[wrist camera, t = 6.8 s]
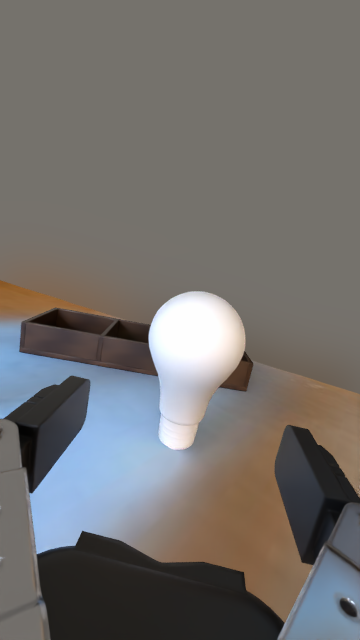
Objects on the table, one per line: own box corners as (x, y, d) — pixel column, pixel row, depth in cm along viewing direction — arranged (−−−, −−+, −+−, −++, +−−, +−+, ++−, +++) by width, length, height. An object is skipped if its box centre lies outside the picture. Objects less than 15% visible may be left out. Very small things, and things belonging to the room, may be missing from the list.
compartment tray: (19, 351, 30) (21, 321, 30) (53, 331, 39) (55, 307, 38) (246, 391, 32) (253, 363, 31) (232, 363, 40) (237, 340, 39)
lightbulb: (118, 426, 21) (142, 278, 19) (188, 417, 24) (216, 288, 22) (151, 491, 16) (189, 298, 14) (235, 468, 19) (277, 308, 17)
